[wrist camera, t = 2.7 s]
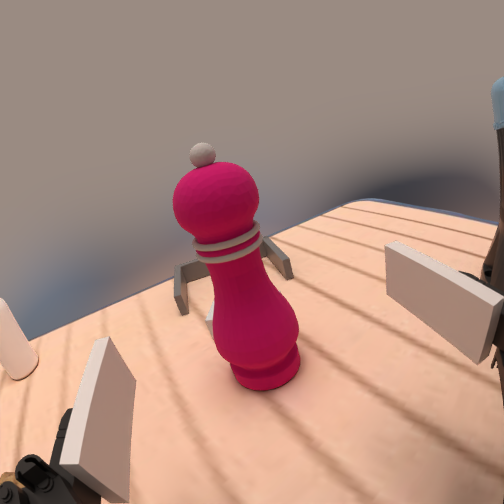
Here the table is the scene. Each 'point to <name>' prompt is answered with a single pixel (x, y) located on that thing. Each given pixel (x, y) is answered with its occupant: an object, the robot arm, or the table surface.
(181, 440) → the table surface
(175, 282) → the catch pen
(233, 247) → the pepper mill
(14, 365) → the can
